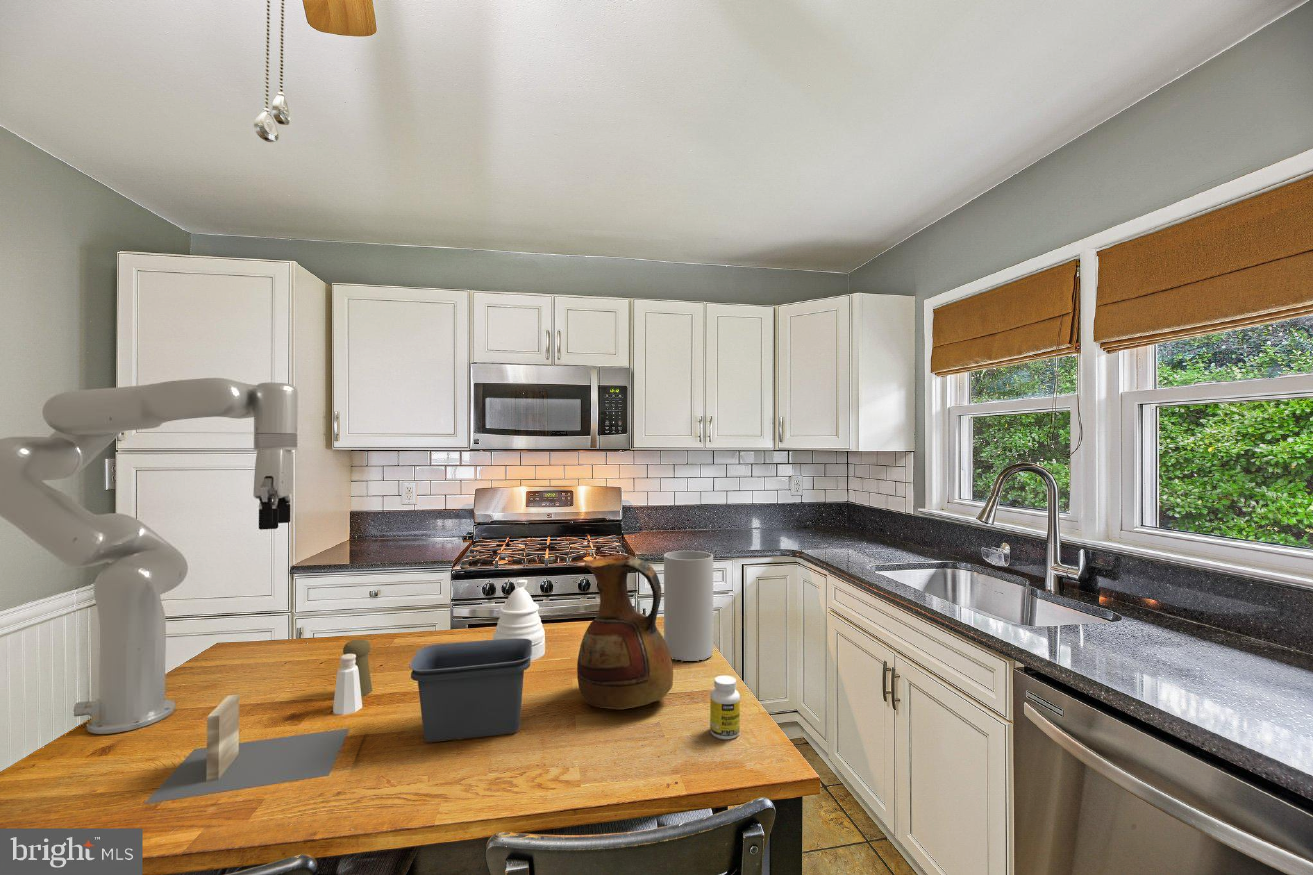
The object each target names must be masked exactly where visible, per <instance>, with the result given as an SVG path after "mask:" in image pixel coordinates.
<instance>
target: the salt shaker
mask: <svg viewBox="0 0 1313 875" xmlns="http://www.w3.org/2000/svg"><path fill="white" fill-rule="evenodd" d="M355 658H356V655H355V654H345V655H344V654H343V655H341V656H340V657H339V660H340V667H339V668H338V669H337V673H336V683H335V690H334V696H333V697H334V698H333V707H332V711H333V715H339V716H340V715H342V716H344V715H348V714H352V713H353V714H354V713H356V712H358V711H359V710H360V709H362V708H363V700H362V697H361V689H360V680H359V671H358V667H357V666H356V665H355Z"/></svg>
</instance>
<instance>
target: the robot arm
mask: <svg viewBox="0 0 1313 875" xmlns="http://www.w3.org/2000/svg"><path fill="white" fill-rule="evenodd" d="M298 396H299V394H298V389H297V387H296V386H295V385H293V384H290V383H284V382H260V383H258V384H251V383H250V384H249V383H246V382H245V383H244V382H241V381H238V380H237V381H236V380H233V379H228V378H223V377H204V378H203V377H202V378H191V379H179V380H170V381H169V380H168V381H163V382H158V383H157V382H156V383H149V384H142V385H131V386H122V387H121V386H119V387H117V386H116V387H107V388H93V389H79V390H70V391H65V392H60V393H58V394H55V395H53V396H52V397H49V398H48V400H46V402H45V403H44V405H43V407H42V410H41V411H42V417H43V420H44V421H45V423H46V424H47V425H48V426H49V427H50V428H51V429H53V430H54V431H53V433H51V434H50V435H49V436H10V437H4V438H0V517H1V518H2V519H4V520H6V521H7V522H8V523H10V524H12V525H13V526H15V527H16V528H17V529H18V530H20V531H21V532H22V533H23V534H24V535H26V536H27V537H29V538H30V539H31V540H33V541H34V542H35V543H36V544H38V546H41V548H44V550H45V551H47V552H48V553H50V554H52V556H54V557H55V558H57V559H58V560H60V562H62V563H64V564H66V565H68V566H69V567H73V568H77V569H78V568H82V569H83V568H89V567H95V566H98V565H101V564H105V563H108V564H107V565H106V566H105V567H103V568H102V570H101V571H100V572H99V573H98V575H97V576H96V578H95V580H94V585H93V595H94V596H93V597H94V600H95V601H94V602H95V605H96V609H97V613H98V614H97V615H98V624H99V625H98V626H99V627H98V629H99V630H98V632H99V634H98V635H99V636H98V637H99V638H98V641H99V648H98V649H99V650H98V651H99V656H98V657H99V658H98V659H99V661H98V663H99V664H98V668H99V669H98V698H97V699H96V700H92V701H90V700H87V701H78V702H76V703H75V704H74V707H73V717H83V716H89V717H90V719H89V720H88V721H90V720H92V719H94V718H95V717H97V718H96V719H94V720H92V721H91V722H89V723H88V722H87V723H88V724H87V723H86V731H87V732H89V733H91V734H95V735H108V734H117V733H124V732H127V731H132V730H136V729H140V728H144V727H146V726H149V725H152V724H155V723H157V722H160V721H162V720H164V719H165V718H167V717H169V716H170V715H171V714H172V713H173V712H174V711H175V710H176V702H175V701H174V700H171V699H169V698H168V699H167V698H166V661H167V660H166V649H167V648H166V646H167V645H166V644H167V639H166V638H167V632H166V630H167V629H166V628H167V625H166V623H167V620H166V613H165V609H164V606H163V604H162V599H161V595H163V594H165V593H167V592H170V591H172V590H174V589H175V588H177V587H178V586H179V585H181V584H182V583H183V582H184V580H185V578H186V577H187V574H188V572H189V571H188V570H189V568H188V567H189V566H188V561H187V559H186V558H185V556H184V555H183V553H181V552H180V550H179V549H177V548H176V547H175V546H173V545H172V544H171V543H170V542H168V541H167V540H165V539H164V538H163V537H162V536H161V535H159V534H158V533H157V532H155V531H154V530H153V529H151V528H150V527H149V526H147V525H146V524H145V523H144V522H142V521H141V520H139V519H138V518H135V517H134V516H130V515H128V514H124V513H119V512H118V513H115V512H113V513H111V512H110V513H102V514H95V513H92V512H91V511H90V510H88V509H86V508H85V507H83V506H82V505H81V504H79V503H78V502H77V501H75V500H74V499H73V498H72V497H70V496H69V495H67V494H66V493H64V492H62V491H61V490H59V489H56V488H55V487H52V486H50V485H48V484H46V483H45V482H44V481H55V480H62V479H66V478H70V477H72V476H74V475H75V474H78V473H79V472H81V471H82V470H83V469H84V468H86V467H87V466H88V465H89V464H90V463H91V462H92V461H93V460H94V459H95V458H97V456H98V455H99V454H101V452H103V450H105V449H106V448H107V447H108V446H109V445H110V444H111V443H112V442H114V440H115V439H116V438H117V437H118V436H120V434H121V433H122V432H125V431H136V430H149V429H155V428H159V427H160V426H161V425H162V424H164V423H168V422H173V421H180V420H190V419H201V418H202V419H203V418H216V417H218V418H219V417H221V418H229V419H249V418H253V450H254V451H255V450H256V457H255V465H254V477H253V494H252V496H253V497H254V499H256V500H259V504H258V529H259V530H260V531H261V530H276V529H278V528H279V524H288V523H290V522H291V496H290V495H292V492H293V480H294V479H293V477H294V476H293V451H296V450H298V413H299V412H298V410H299V409H298V408H299V406H298ZM292 450H293V451H292ZM101 714H102V715H101ZM99 715H101V716H99ZM98 716H99V717H98Z"/></svg>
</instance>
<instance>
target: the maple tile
mask: <svg viewBox="0 0 1313 875" xmlns="http://www.w3.org/2000/svg"><path fill="white" fill-rule="evenodd" d="M206 719H207V720H206V747H207V778H206V781H212V780H218V779H219V778H220V777H221V776H222V774H223V773H224V772H225V770H226V769H227V768H228V767H229V765H230V764H231V763H232V761H233V760H234V759H235V757H236V756H237V755H238V754H239V743H240V742H239V741H240V739H239V738H240V736H239V734H240V730H239V729H240V693H238V694H230V695H227V696H226V697H225V698H224V699H223V700H222V701H221V702H220V703H219V704H218V705H217V706H216V707H215V708H214V710H212V711H211V712H210V713H209V714H208V715H207V716H206Z"/></svg>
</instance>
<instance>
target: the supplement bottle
mask: <svg viewBox="0 0 1313 875" xmlns="http://www.w3.org/2000/svg"><path fill="white" fill-rule="evenodd" d="M713 684H714V688H713V689H712V691H710V698H709V700H710V704H709V705H710V710H709V712H710V715H709V717H710V719H709V720H710V721H709V723H710V724H709V731H710V733H711V735H712V736H714V737H715V738H718V739H719V740H732V739H734V738H737V737H738V736H739V735H740V729H741V724H740V722H741V720H740V719H741V718H740V717H741V713H740V712H741V695H740V693H739V691H738V690H737V678H735V677H734V676H731V675H719V676H716V677H714V682H713Z"/></svg>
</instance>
